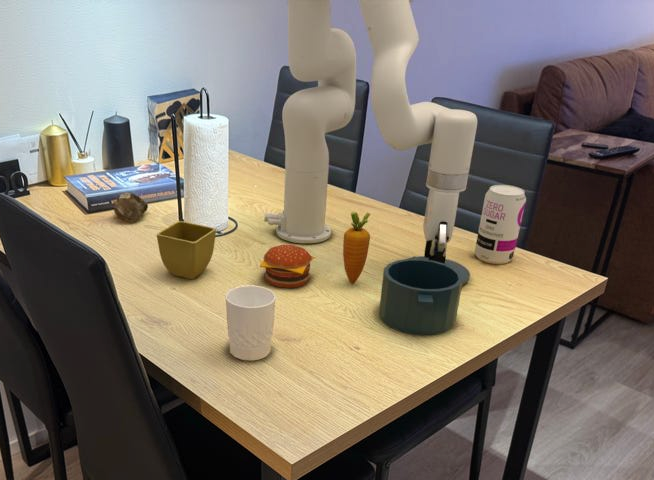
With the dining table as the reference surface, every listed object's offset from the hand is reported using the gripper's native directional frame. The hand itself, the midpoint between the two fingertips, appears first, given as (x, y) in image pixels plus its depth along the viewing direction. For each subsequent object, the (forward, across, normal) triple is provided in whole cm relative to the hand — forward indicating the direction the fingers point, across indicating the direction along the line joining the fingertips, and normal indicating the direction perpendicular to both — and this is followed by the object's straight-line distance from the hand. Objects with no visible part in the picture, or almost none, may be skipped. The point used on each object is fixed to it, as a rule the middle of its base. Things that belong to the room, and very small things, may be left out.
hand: (433, 264), depth 140 cm
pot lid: (+2, 0, 0) cm, 2 cm away
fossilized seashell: (+3, -21, -70) cm, 73 cm away
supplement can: (+3, -12, +14) cm, 19 cm away
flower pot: (+3, +8, -49) cm, 50 cm away
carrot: (+3, +7, -16) cm, 18 cm away
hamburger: (+3, +7, -29) cm, 30 cm away
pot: (+2, +19, -4) cm, 20 cm away
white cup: (+3, +36, -32) cm, 48 cm away
